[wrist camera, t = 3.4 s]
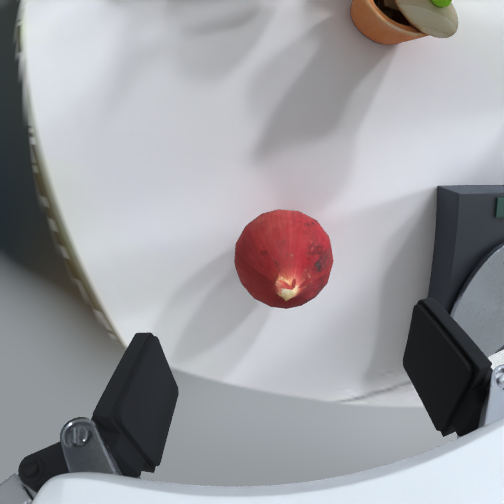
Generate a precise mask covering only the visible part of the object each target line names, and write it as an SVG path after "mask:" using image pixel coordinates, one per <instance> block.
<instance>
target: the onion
mask: <svg viewBox="0 0 504 504" xmlns="http://www.w3.org/2000/svg"><path fill="white" fill-rule="evenodd" d="M234 262H235V267H236V270H237V273H238V275H239V278H240V281H241V283H242V285H243V286H244V287H245V288H246V289H247V291H248V292H249V293H250V294H251V295H252V296H253V297H254V298H255V299H257V300H259V301H261V302H263V303H265V304H267V305H269V306H270V307H277V308H285V309H287V308H292V307H297V306H301V305H303V304H305V303H307V302H308V301H310V300H312V299H313V298H315V297H316V296H317V295H318V294H319V292H320V291H321V290H322V289H323V288H324V286H325V285H326V284H327V282H328V279H329V275H330V271H331V268H332V264H333V256H332V249H331V243H330V239H329V236H328V235H327V234H326V232H325V231H324V230H323V228H322V227H321V226H320V224H319V223H318V222H317V220H315V219H313V218H311V217H309V216H307V215H305V214H303V213H301V212H299V211H289V210H279V209H278V210H274V211H271V212H267V213H263V214H261V215H259V216H258V217H257V218H255V219H254V220H253V221H252V222H250V223H249V224H248V225H247V226H246V227H245V228H244V230H243V232H242V234H241V235H240V237H239V239H238V241H237V243H236V248H235V261H234Z"/></svg>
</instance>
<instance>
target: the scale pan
mask: <svg viewBox="0 0 504 504" xmlns="http://www.w3.org/2000/svg"><path fill="white" fill-rule="evenodd" d="M450 316H451V317H452V318H453V319H454V320H455V321H456V322H457V323H458V324H459V326H460V327H461V328H462V329H463V330H464V331H465V332H466V333H467V334H468V336H469V337H470V338H471V339H472V340H473V341H474V342H475V344H476V345H477V346H478V347H479V348H480V350H481V351H482V352H483V353H484V354H485V355H486V357H489V356H491V355H492V354H494V353H495V352H496V351H498V350H499V349H500V348H501V347H502V346H503V345H504V242H503V243H501V244H499V245H498V246H496V247H495V248H494V249H492V250H491V251H490V252H489V253H488V254H487V255H486V256H485V257H484V258H483V259H482V260H481V261H480V262H479V264H478V265H477V266H476V267H475V268H474V270H473V271H472V273H471V274H470V275H469V277H468V278H467V280H466V282H465V283H464V285H463V287H462V289H461V290H460V292H459V294H458V296H457V298H456V300H455V303H454V305H453V308H452V310H451V313H450Z"/></svg>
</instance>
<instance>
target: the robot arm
mask: <svg viewBox="0 0 504 504" xmlns="http://www.w3.org/2000/svg"><path fill="white" fill-rule="evenodd" d="M491 365H492V363H491V362H490V360H489V359H488V358H487V357H486V355H485V354H484V353H483V352H482V351H481V350H480V348H479V347H478V346H477V345H476V344H475V342H474V341H473V340H472V339H471V338H470V337H469V336H468V334H467V333H466V332H465V331H464V330H463V329H462V328H461V327H460V326H459V324H458V323H457V322H456V321H455V320H454V319H453V318H452V317H451V316H450V315H449V314H448V312H447V311H446V310H445V309H444V308H443V307H442V306H441V305H440V304H439V303H438V302H437V301H436V300H435V299H434V298H427V299H423V300H419V301H418V303H417V305H415V306H414V308H413V314H412V320H411V325H410V330H409V335H408V340H407V344H406V349H405V353H404V357H403V366H404V369H405V370H406V372H407V374H408V376H409V378H410V380H411V381H412V383H413V385H414V387H415V389H416V391H417V393H418V395H419V397H420V398H421V400H422V402H423V404H424V406H425V408H426V410H427V412H428V414H429V416H430V418H431V420H432V422H433V424H434V426H435V428H436V430H438V431H441V433H442V435H443V437H444V436H446V435H449V434H451V433H453V432H455V431H456V433H457V435H458V437H457V439H455V440H453V441H451V442H449V443H446V444H444V445H441V446H439V447H436V448H434V449H431V450H429V451H426V452H424V453H421V454H418V455H416V456H413V457H410V458H407V459H404V460H401V461H398V462H395V463H391V464H388V465H385V466H381V467H377V468H374V469H370V470H366V471H362V472H357V473H354V474H349V475H344V476H339V477H333V478H328V479H322V480H316V481H308V482H300V483H292V484H282V485H269V486H268V485H266V486H240V487H239V486H238V487H237V486H234V487H233V486H232V487H231V486H202V485H189V484H178V483H168V482H159V481H153V480H145V479H141V478H140V475H141V471H145V472H152V473H154V470H155V467H156V466H159V465H160V462H161V459H162V455H163V450H164V446H165V443H166V439H167V435H168V431H169V427H170V424H171V420H172V416H173V413H174V409H175V405H176V401H177V397H178V387H177V384H176V382H175V379H174V377H173V375H172V372H171V370H170V367H169V365H168V362H167V360H166V357H165V355H164V352H163V350H162V347H161V344H160V342H159V339H158V338H157V337H156V336H154V335H153V334H152V333H136V334H135V335H134V337H133V339H132V341H131V343H130V344H129V346H128V348H127V350H126V351H125V353H124V355H123V357H122V359H121V361H120V363H119V364H118V366H117V368H116V370H115V372H114V373H113V375H112V377H111V379H110V381H109V383H108V385H107V387H106V389H105V391H104V393H103V394H102V396H101V398H100V400H99V402H98V404H97V406H96V408H95V410H94V412H93V416H92V419H91V420H90V419H89V418H85V417H78V418H74V419H72V420H70V421H69V422H67V423H66V424H65V425H64V427H63V428H62V430H61V433H60V442H58V443H56V444H54V445H51V446H49V447H47V448H45V449H42V450H40V451H38V452H35V453H33V454H31V455H28V456H27V457H25V458H24V459H23V460H22V461H21V463H20V465H19V470H18V471H19V475H17V474H15V473H14V474H13V475H12V476H10V477H9V478H8V479H7V480H5V481H4V482H3V483H2V484H0V504H504V364H503V365H499V366H498V367H496V368H495V369H494V370H492V368H491Z"/></svg>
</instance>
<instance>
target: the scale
mask: <svg viewBox="0 0 504 504" xmlns="http://www.w3.org/2000/svg"><path fill="white" fill-rule="evenodd" d="M503 242H504V185H457V186H438V187H437V218H436V234H435V246H434V256H433V264H432V272H431V279H430V286H429V292H428V298H434V299H435V300H436V301H437V302H438V303H439V304H440V305H441V306H442V307H443V308H444V309H445V310H446V311H447V312H448V314H449V315H450V313H451V310H452V308H453V305H454V303H455V300H456V298H457V296H458V294H459V292H460V290H461V289H462V287H463V285H464V283H465V282H466V280H467V278H468V277H469V275H470V274H471V273H472V271H473V270H474V268H475V267H476V266H477V265H478V264H479V262H480V261H481V260H482V259H483V258H484V257H485V256H486V255H487V254H488V253H489V252H490V251H491V250H492V249H494V248H495V247H496V246H498V245H499V244H501V243H503ZM503 349H504V345H503V346H502V347H501V348H500V349H499V350H498V351H496V352H495V353H497V352H499V351H501V350H503Z"/></svg>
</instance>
